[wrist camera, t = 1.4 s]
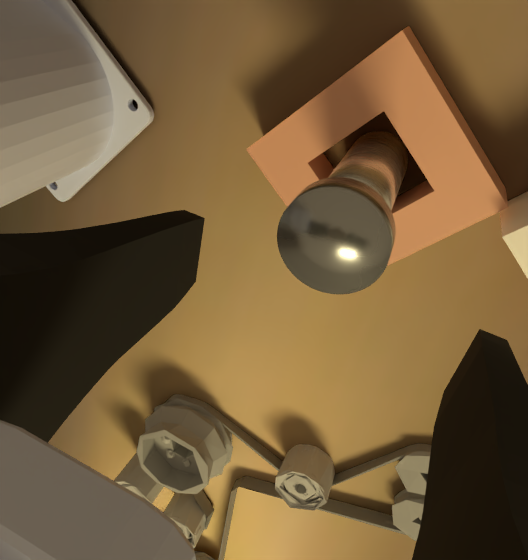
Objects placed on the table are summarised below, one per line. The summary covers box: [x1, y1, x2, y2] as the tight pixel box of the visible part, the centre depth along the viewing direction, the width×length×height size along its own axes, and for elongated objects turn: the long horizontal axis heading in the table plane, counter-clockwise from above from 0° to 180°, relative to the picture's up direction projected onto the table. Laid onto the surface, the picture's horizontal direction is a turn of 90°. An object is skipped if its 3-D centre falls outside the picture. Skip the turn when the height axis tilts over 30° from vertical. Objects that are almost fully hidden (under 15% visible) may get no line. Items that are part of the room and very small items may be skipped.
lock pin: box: [277, 131, 408, 294], centre depth 17 cm, size 3×3×8 cm
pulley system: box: [114, 394, 432, 560], centre depth 33 cm, size 27×5×15 cm
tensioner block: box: [246, 26, 508, 266], centre depth 20 cm, size 7×7×2 cm
